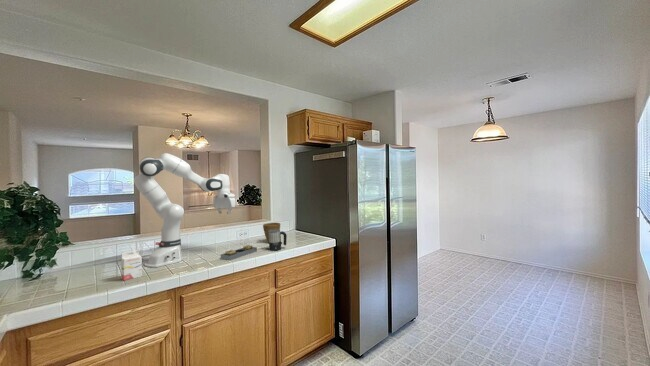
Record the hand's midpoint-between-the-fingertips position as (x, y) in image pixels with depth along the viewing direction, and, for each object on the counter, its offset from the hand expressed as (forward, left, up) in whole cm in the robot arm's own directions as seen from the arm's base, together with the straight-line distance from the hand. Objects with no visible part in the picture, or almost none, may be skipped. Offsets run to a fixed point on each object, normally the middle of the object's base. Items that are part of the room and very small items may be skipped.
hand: (224, 213), depth 199 cm
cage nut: (+6, -17, -28) cm, 34 cm away
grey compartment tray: (-2, -17, -29) cm, 34 cm away
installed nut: (-10, -17, -28) cm, 35 cm away
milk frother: (+25, -27, -29) cm, 47 cm away
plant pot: (+40, -11, -29) cm, 51 cm away
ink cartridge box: (-60, +5, -29) cm, 67 cm away
